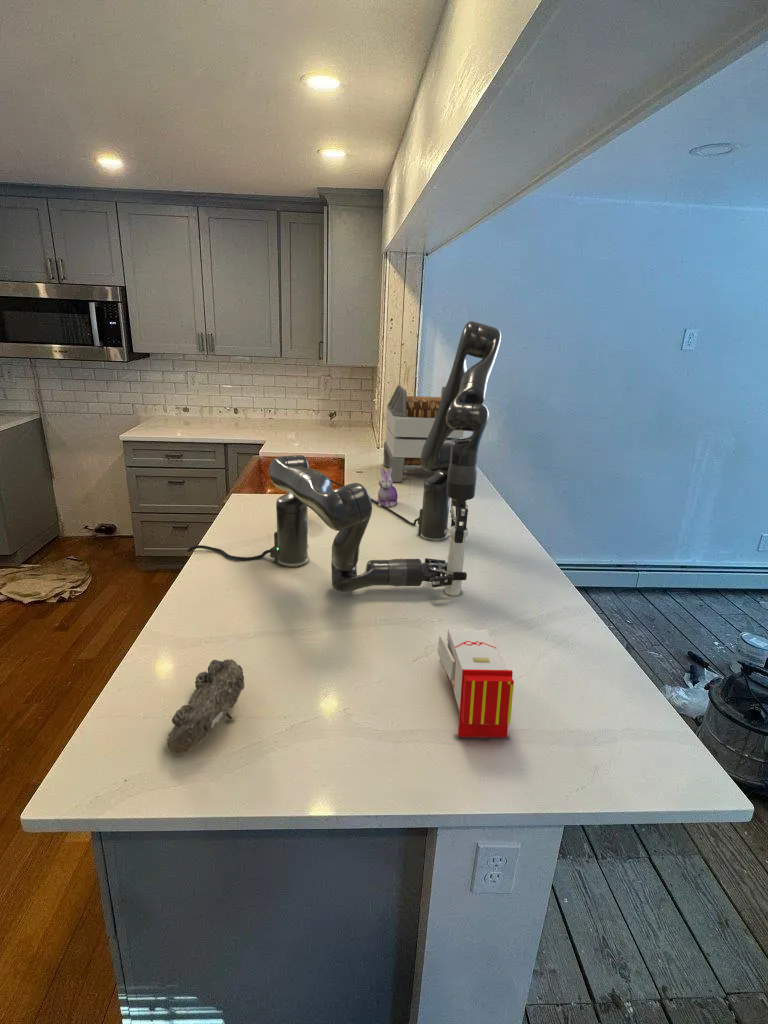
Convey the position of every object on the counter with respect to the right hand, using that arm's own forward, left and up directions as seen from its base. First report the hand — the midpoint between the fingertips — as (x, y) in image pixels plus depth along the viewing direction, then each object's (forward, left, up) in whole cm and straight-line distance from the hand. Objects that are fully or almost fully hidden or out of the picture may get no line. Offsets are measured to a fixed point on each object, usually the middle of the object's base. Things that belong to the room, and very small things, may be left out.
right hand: (456, 536), depth 155 cm
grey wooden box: (-72, +98, -17) cm, 123 cm away
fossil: (-11, -75, -17) cm, 77 cm away
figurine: (-57, +50, -17) cm, 78 cm away
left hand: (+2, +2, -11) cm, 11 cm away
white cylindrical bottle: (0, 0, -17) cm, 17 cm away
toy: (+25, -37, -17) cm, 47 cm away
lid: (0, 0, +2) cm, 2 cm away
